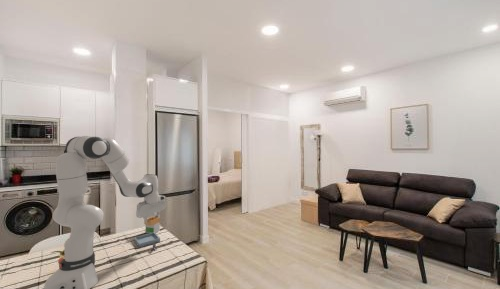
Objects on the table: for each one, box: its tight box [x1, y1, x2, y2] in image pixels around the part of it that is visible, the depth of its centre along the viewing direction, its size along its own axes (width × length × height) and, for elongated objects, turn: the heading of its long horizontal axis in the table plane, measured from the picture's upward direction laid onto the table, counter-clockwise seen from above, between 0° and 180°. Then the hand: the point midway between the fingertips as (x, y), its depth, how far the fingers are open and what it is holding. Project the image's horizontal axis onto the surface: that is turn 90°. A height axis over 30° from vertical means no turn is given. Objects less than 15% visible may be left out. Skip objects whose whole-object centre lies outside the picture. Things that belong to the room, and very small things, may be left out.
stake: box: [151, 243, 158, 252], centre depth 145 cm, size 3×3×4 cm
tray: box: [133, 232, 161, 248], centre depth 157 cm, size 13×13×2 cm
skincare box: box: [145, 213, 161, 234], centre depth 174 cm, size 8×7×16 cm
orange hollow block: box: [143, 217, 161, 226], centre depth 148 cm, size 6×8×3 cm
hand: (152, 220), depth 148 cm, fingers closed on orange hollow block, 6 cm apart
